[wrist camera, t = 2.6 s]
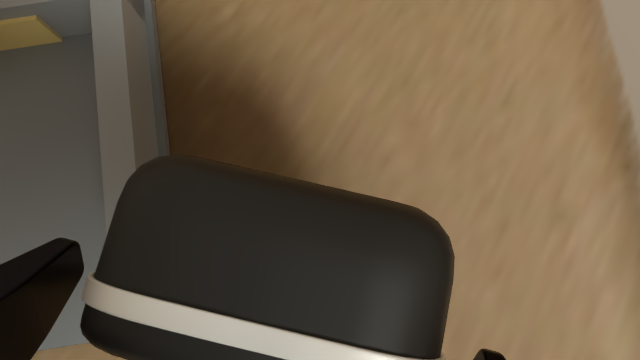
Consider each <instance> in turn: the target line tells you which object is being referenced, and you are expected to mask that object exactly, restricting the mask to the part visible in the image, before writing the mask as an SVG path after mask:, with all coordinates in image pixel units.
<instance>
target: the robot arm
mask: <svg viewBox="0 0 640 360" xmlns="http://www.w3.org/2000/svg"><path fill="white" fill-rule="evenodd" d="M83 272H84V262H83V257H82V252H81V248H80V244H79V243H78V242H77V241H74V240H70V239H67V238H56V239H54V240H51V241H49V242H47V243H45V244H43V245H41V246H39V247H36V248H34V249H32V250H30V251H28V252H26V253H24V254H22V255H19V256H17V257H15V258H13V259H11V260H9V261H7V262H4V263H2V264H0V360H31V358H32V357H33V356H34V354H35V353H36V351H37V350H38V349H39V347H40V346H41V344H42V343H43V341H44V340H45V339H46V337H47V335H48V334H49V332H50V331H51V329H52V327H53V326H54V324H55V322H56V320H57V319H58V317H59V315H60V314H61V312H62V310H63V308H64V307H65V305H66V303H67V301H68V300H69V298H70V296H71V295H72V293H73V291H74V289H75V288H76V286H77V284H78V282H79V281H80V279H81V277H82V275H83ZM473 360H506V359H505V358H504V356H503V355H502V354H501V353H499V352H496V351H492V350H488V349H481V350H480V351H479V352H478V353H477V355H476V356H475V358H474V359H473Z"/></svg>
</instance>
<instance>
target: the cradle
mask: <svg viewBox="0 0 640 360" xmlns="http://www.w3.org/2000/svg"><path fill="white" fill-rule="evenodd" d="M169 155H170V147H169V137H168V127H167V117H166V107H165V98H164V88H163V78H162V68H161V58H160V48H159V38H158V28H157V19H156V9H155V0H0V264H2V263H4V262H7V261H9V260H11V259H13V258H15V257H17V256H19V255H22V254H24V253H26V252H28V251H30V250H32V249H34V248H36V247H39V246H41V245H43V244H45V243H47V242H49V241H51V240H54V239H56V238H67V239H70V240H74V241H77V242H78V243H79V244H80V248H81V252H82V257H83V262H84V272H83V275H82V277H81V279H80V281H79V282H78V284H77V286H76V288H75V289H74V291H73V293H72V295H71V296H70V298H69V300H68V301H67V303H66V305H65V307H64V308H63V310H62V312H61V314H60V315H59V317H58V319H57V320H56V322H55V324H54V326H53V327H52V329H51V331H50V332H49V334H48V335H47V337H46V339H45V340H44V341H43V343H42V344H41V346H40V347H39V349H38V350H37V351H40V350H46V349H52V348H58V347H64V346H70V345H76V344H82V343H89V341H88V340H87V339H86V338H85V337H84V336H83V335H82V332H81V328H80V323H81V317H82V313H83V310H84V307H85V303H84V302H83V301H82V298H81V295H82V292H83V289H84V285H85V282H86V279H87V276H88V274H89V273H91V272H94V271H96V268H97V265H98V262H99V259H100V256H101V252H102V249H103V246H104V243H105V240H106V236H107V233H108V230H109V227H110V224H111V221H112V217H113V214H114V211H115V208H116V205H117V202H118V199H119V197H120V195H121V193H122V191H123V188H124V186H125V184H126V182H127V180H128V178H129V177H130V176H131V175H132V174H133V173H134V172H135V171H136V170H137V169H138V168H139V167H140V165H142V164H144V163H146V162H148V161H150V160H152V159H154V158H156V157H160V156H169Z"/></svg>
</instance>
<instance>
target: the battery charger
mask: <svg viewBox="0 0 640 360" xmlns="http://www.w3.org/2000/svg"><path fill="white" fill-rule="evenodd" d="M454 257H455V256H454V253H453V249H452V245H451V242H450V238H449V236H448V235H447V233H446V232H445V231H444V229H443V228H442V227H441V225H440V224H439V222H438V221H436V220H435V219H434V218H432V217H431V216H429V215H428V214H426V213H425V212H423V211H422V210H420V209H418V208H416V207H413V206H409V205H406V204H402V203H398V202H394V201H390V200H386V199H381V198H377V197H373V196H368V195H364V194H359V193H355V192H351V191H346V190H342V189H338V188H333V187H329V186H324V185H320V184H316V183H311V182H307V181H302V180H298V179H294V178H289V177H285V176H280V175H276V174H271V173H267V172H262V171H258V170H253V169H249V168H244V167H240V166H235V165H231V164H226V163H222V162H217V161H213V160H208V159H203V158H198V157H193V156H188V155H180V154H177V155H169V156H160V157H156V158H154V159H152V160H150V161H148V162H146V163H144V164H142V165H140V167H139V168H138V169H137V170H136V171H135V172H134V173H133V174H132V175H131V176H130V177H129V178H128V180H127V182H126V184H125V186H124V188H123V191H122V193H121V195H120V197H119V199H118V202H117V205H116V208H115V211H114V214H113V217H112V221H111V224H110V227H109V230H108V233H107V236H106V240H105V243H104V246H103V249H102V252H101V256H100V259H99V262H98V265H97V268H96V271H94V272H91V273H89V274H88V276H87V279H86V282H85V285H84V289H83V292H82V295H81V298H82V301H83V302H84V303H85V307H84V310H83V313H82V317H81V323H80V328H81V332H82V335H83V336H84V337H85V338H86V339H87V340H88V341H89V342H90V343H91V344H92V345H93V346H95V347H96V348H99V349H101V350H103V351H105V352H107V353H109V354H111V355H114V356H117V357H121V358H124V359H127V360H445V356H444V354H443V353H442V352H441V349H442V343H443V338H444V332H445V326H446V320H447V314H448V308H449V303H450V297H451V291H452V285H453V275H454Z"/></svg>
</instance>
